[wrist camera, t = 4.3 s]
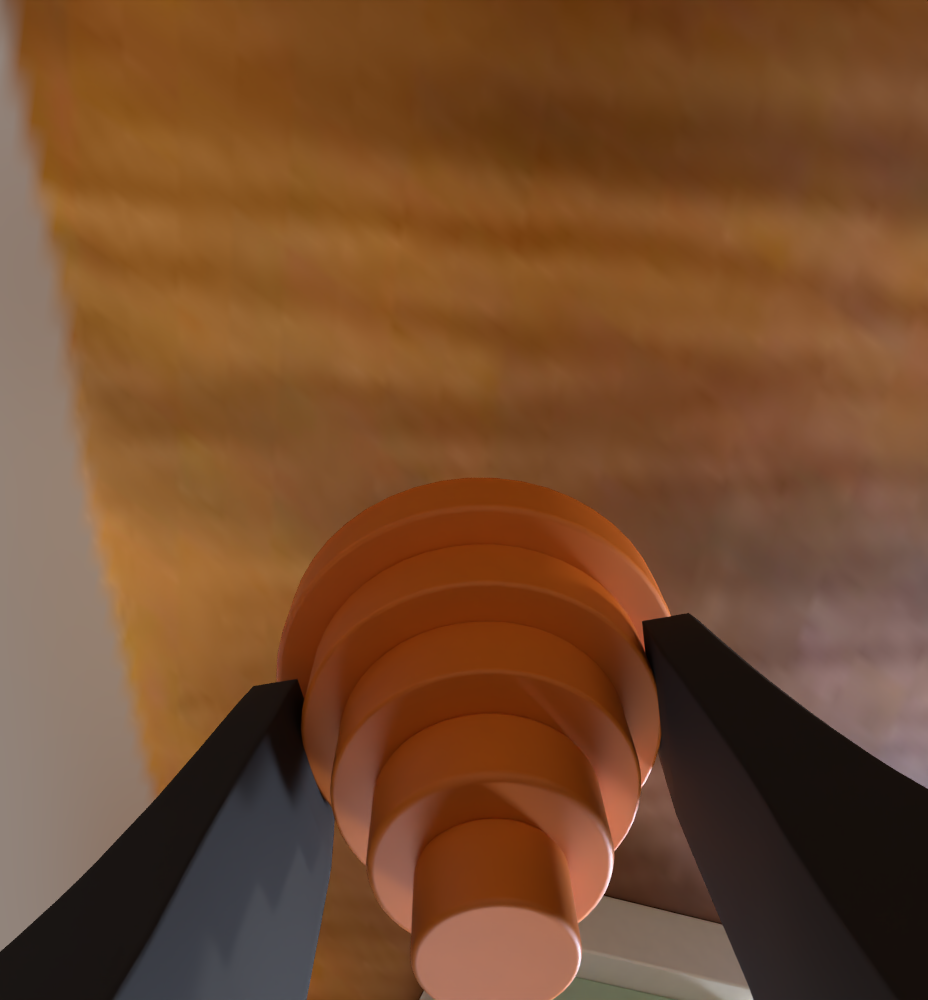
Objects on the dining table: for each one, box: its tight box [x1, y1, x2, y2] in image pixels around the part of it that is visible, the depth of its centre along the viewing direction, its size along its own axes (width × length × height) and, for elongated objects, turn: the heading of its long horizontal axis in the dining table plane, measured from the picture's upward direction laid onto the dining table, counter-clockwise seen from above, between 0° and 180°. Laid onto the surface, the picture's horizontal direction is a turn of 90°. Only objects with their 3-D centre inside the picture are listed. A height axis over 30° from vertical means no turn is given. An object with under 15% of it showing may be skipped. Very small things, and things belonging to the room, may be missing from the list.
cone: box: [276, 478, 671, 1000], centre depth 10 cm, size 6×6×5 cm
